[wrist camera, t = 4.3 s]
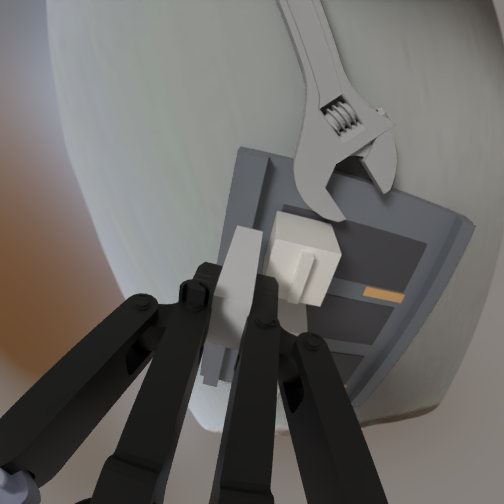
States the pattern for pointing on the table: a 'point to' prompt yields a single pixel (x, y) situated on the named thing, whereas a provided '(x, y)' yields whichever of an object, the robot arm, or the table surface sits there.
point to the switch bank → (351, 265)
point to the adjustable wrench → (332, 114)
